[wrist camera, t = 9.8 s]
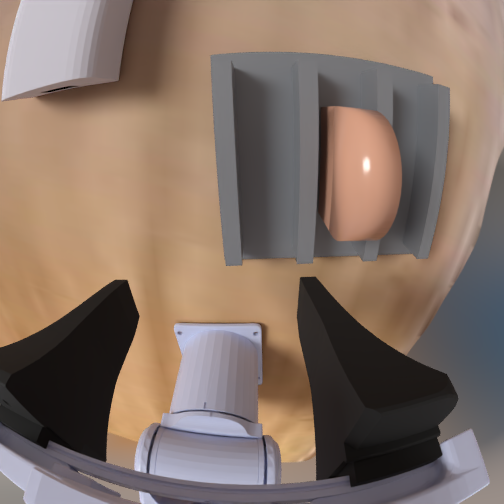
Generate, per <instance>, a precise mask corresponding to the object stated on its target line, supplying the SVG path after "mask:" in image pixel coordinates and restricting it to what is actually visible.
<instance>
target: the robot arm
mask: <svg viewBox="0 0 504 504" xmlns="http://www.w3.org/2000/svg"><path fill="white" fill-rule="evenodd" d="M138 320H139V313H138V311H137V308H136V305H135V302H134V299H133V296H132V293H131V290H130V287H129V284H128V281H127V280H114V281H113V282H111V283H109V284H108V285H106V286H105V287H103V288H102V289H101V290H99V291H98V292H97V293H95V294H94V295H93V296H91V297H90V298H89V299H87V300H86V301H85V302H83V303H82V304H81V305H79V306H78V307H76V308H75V309H74V310H72V311H71V312H69V313H68V314H67V315H65V316H64V317H62V318H61V319H59V320H58V321H56V322H55V323H53V324H51V325H50V326H48V327H46V328H44V329H43V330H41V331H39V332H37V333H35V334H33V335H31V336H29V337H27V338H25V339H22V340H20V341H18V342H15V343H13V344H10V345H7V346H4V347H1V348H0V471H1V472H2V473H3V474H4V475H5V476H7V477H8V478H9V479H10V480H11V481H12V482H14V483H15V484H16V485H17V486H19V487H20V488H21V489H23V490H24V491H25V493H24V497H23V499H24V501H25V503H26V504H140V503H136V502H133V501H130V500H126V499H123V498H120V496H121V495H120V494H119V493H118V492H115V491H113V490H111V489H108V488H106V487H105V486H103V485H101V484H99V483H97V482H96V481H94V480H93V479H91V478H88V477H86V476H84V475H82V474H80V473H79V472H78V471H80V472H82V473H85V474H87V475H90V476H92V477H95V478H98V479H101V480H104V481H106V482H109V483H113V484H116V485H119V486H122V487H126V488H129V489H133V490H137V491H139V494H140V502H141V504H297V503H298V504H458V503H460V502H462V501H463V500H465V499H467V498H468V497H470V496H472V495H473V494H475V493H476V492H478V491H479V490H481V489H483V488H484V487H486V486H487V485H489V483H490V480H489V476H488V473H487V470H486V467H485V464H484V461H483V457H482V455H481V452H480V449H479V446H478V443H477V441H476V438H475V436H474V433H473V430H472V429H468V430H466V431H464V432H462V433H459V434H458V435H455V436H453V437H451V438H449V439H447V440H445V441H443V442H441V443H440V444H439V442H438V439H437V437H438V436H439V435H440V430H439V427H438V425H439V424H440V423H441V422H442V421H443V420H444V419H445V418H446V417H447V416H448V414H449V413H450V412H451V411H452V410H453V409H454V407H455V406H456V403H457V401H458V395H457V393H456V392H455V389H454V387H453V385H452V383H451V381H450V379H449V377H448V376H447V374H445V373H442V372H440V371H438V370H435V369H433V368H430V367H428V366H425V365H423V364H421V363H419V362H417V361H415V360H413V359H411V358H409V357H407V356H405V355H404V354H402V353H400V352H398V351H397V350H395V349H394V348H392V347H391V346H389V345H387V344H386V343H384V342H383V341H381V340H380V339H379V338H377V337H376V336H375V335H373V334H372V333H371V332H369V331H368V330H367V329H366V328H364V327H363V326H362V325H361V324H360V323H358V322H357V321H356V320H355V319H354V318H353V317H352V316H351V315H350V314H349V313H348V312H347V311H346V310H345V309H344V308H343V307H342V306H341V305H340V304H339V303H338V302H337V301H336V300H335V299H334V297H333V296H332V295H331V294H330V293H329V292H328V291H327V290H326V288H325V287H324V286H323V285H322V284H321V282H320V281H319V280H318V279H317V278H316V277H300V285H299V298H298V311H297V321H298V330H299V338H300V343H301V347H302V351H303V356H304V360H305V364H306V369H307V373H308V377H309V382H310V387H311V394H312V403H313V414H314V427H315V444H316V481H309V482H300V483H287V484H281V455H280V449H279V446H278V444H277V442H276V441H274V440H273V438H272V437H271V436H269V435H263V436H262V424H259V423H258V385H261V384H262V332H261V325H260V324H257V323H247V324H199V323H176V324H175V325H174V331H175V334H176V337H177V341H178V344H179V347H180V350H181V353H182V360H181V364H180V368H179V373H178V377H177V381H176V385H175V390H174V394H173V399H172V403H171V408H170V412H169V413H163V416H162V421H161V424H160V423H152V424H151V425H150V426H149V427H148V428H146V429H145V430H144V431H143V433H142V434H141V436H140V439H139V442H138V445H137V449H136V455H135V470H131V469H127V468H123V467H120V466H116V465H113V464H109V463H106V447H107V431H108V421H109V414H110V408H111V403H112V398H113V394H114V389H115V385H116V382H117V379H118V376H119V373H120V370H121V368H122V365H123V363H124V360H125V358H126V355H127V353H128V351H129V348H130V346H131V343H132V341H133V338H134V335H135V332H136V328H137V324H138ZM179 331H180V332H179ZM254 332H258V333H254ZM306 502H310V503H306Z"/></svg>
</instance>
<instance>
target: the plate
mask: <svg viewBox="0 0 504 504" xmlns="http://www.w3.org/2000/svg"><path fill="white" fill-rule="evenodd" d="M401 188H402V164H401V156H400V150H399V146H398V142H397V139H396V136H395V133H394V131H393V128H392V126H391V125H390V123H389V121H388V120H387V119H386V117H385V116H384V115H383V114H381V113H380V112H378V111H375V110H368V109H360V108H352V107H341V106H330V107H321V155H320V187H319V208H318V213H319V215H320V216H321V218H322V220H323V221H324V223H325V225H326V227H327V228H328V230H329V231H330V233H331V235H332V237H333V238H334V239H335V240H337V241H373V240H379V239H381V238H382V237H384V236H385V235H386V234H387V232H388V231H389V229H390V228H391V226H392V224H393V222H394V219H395V217H396V214H397V210H398V207H399V202H400V196H401Z"/></svg>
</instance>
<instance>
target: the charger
mask: <svg viewBox="0 0 504 504" xmlns="http://www.w3.org/2000/svg"><path fill="white" fill-rule="evenodd" d="M132 3H133V0H21V3H20V6H19V9H18V12H17V16H16V19H15V23H14V27H13V30H12V35H11V39H10V43H9V48H8V53H7V59H6V65H5V72H4V80H3V89H2V101H8V100H16V99H24V98H31V97H37V96H41V95H45V94H49V93H53V92H46V93H41V92H45V91H49V90H53V89H57V88H62V87H66V86H77V87H82V86H88V85H95V84H101V83H108V82H115V81H119V74H120V66H121V59H122V52H123V46H124V40H125V35H126V30H127V25H128V20H129V16H130V11H131V7H132ZM77 87H72V88H77ZM72 88H67V89H72ZM67 89H62V90H67ZM62 90H58V91H62ZM54 92H57V91H54Z"/></svg>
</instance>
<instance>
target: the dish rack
mask: <svg viewBox="0 0 504 504" xmlns="http://www.w3.org/2000/svg"><path fill="white" fill-rule="evenodd" d="M211 77H212V98H213V116H214V133H215V148H216V163H217V176H218V189H219V201H220V213H221V225H222V236H223V246H224V257H225V261H226V266H237V265H242V260H243V259H264V258H296V262H297V264H306V263H313V257H330V256H360V258H361V259H362V261H376V260H377V255H388V254H413V255H414V256H415V257H416V258H417V259H425V258H428V256H429V252H430V248H431V244H432V240H433V236H434V232H435V227H436V223H437V218H438V213H439V208H440V203H441V197H442V191H443V185H444V178H445V170H446V162H447V152H448V139H449V120H450V88H448V87H445V86H442V85H439V84H433V77H432V76H429V75H426V74H423V73H419V72H416V71H412V70H408V69H404V68H401V67H396V66H392V65H388V64H383V63H378V62H373V61H368V60H362V59H356V58H349V57H342V56H334V55H324V54H313V53H296V52H246V53H229V54H217V55H211ZM330 106H341V107H352V108H360V109H368V110H375V111H378V112H380V113H381V114H383V115H384V116H385V117H386V119H387V120H388V121H389V123H390V125H391V126H392V128H393V131H394V133H395V136H396V139H397V142H398V146H399V150H400V156H401V164H402V188H401V196H400V202H399V207H398V210H397V214H396V217H395V219H394V222H393V224H392V226H391V228H390V229H389V231H388V232H387V234H386V235H385V236H384V237H382V238H381V239H379V240H373V241H337V240H335V239H334V238H333V237H332V235H331V233H330V231H329V230H328V228H327V227H326V225H325V223H324V221H323V220H322V218H321V216H320V215H319V213H318V208H319V187H320V155H321V107H330Z"/></svg>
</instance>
